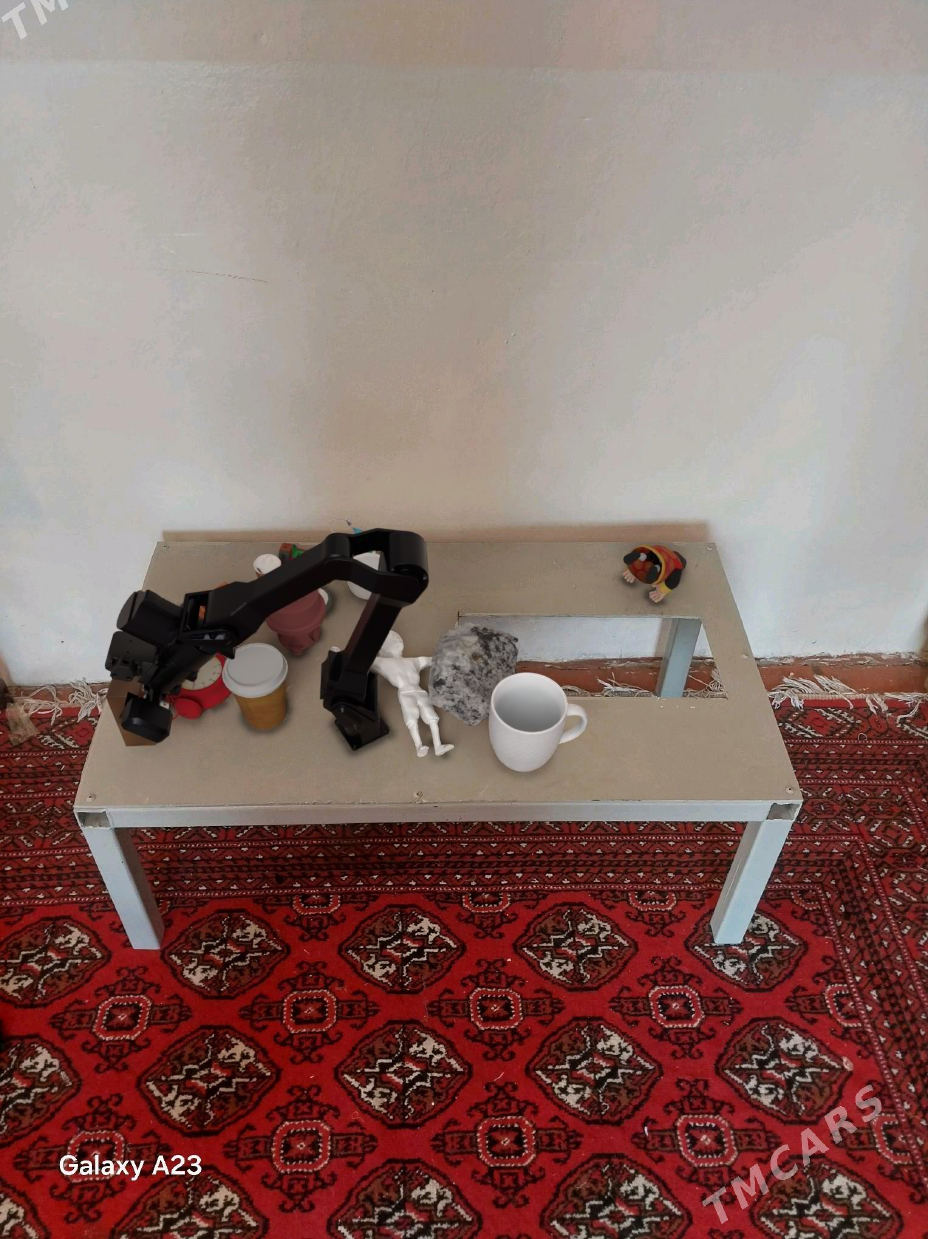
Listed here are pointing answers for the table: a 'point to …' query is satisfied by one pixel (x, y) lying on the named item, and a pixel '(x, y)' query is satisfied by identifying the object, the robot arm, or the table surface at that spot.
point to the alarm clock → (202, 690)
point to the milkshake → (266, 564)
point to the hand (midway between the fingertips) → (125, 705)
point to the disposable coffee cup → (258, 683)
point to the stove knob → (326, 598)
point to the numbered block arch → (289, 552)
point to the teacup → (371, 561)
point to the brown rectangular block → (117, 702)
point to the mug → (530, 720)
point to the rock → (470, 669)
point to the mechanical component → (299, 622)
